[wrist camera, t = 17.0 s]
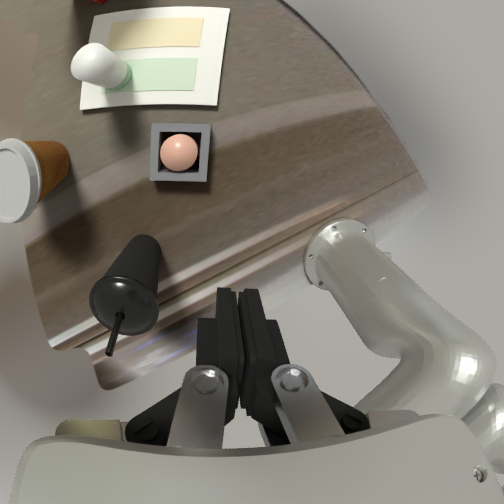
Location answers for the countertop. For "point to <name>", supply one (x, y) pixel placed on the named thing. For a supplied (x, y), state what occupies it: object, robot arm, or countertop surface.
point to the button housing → (172, 175)
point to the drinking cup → (129, 291)
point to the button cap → (179, 152)
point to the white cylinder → (100, 67)
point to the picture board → (161, 55)
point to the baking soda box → (99, 1)
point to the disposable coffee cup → (28, 175)
